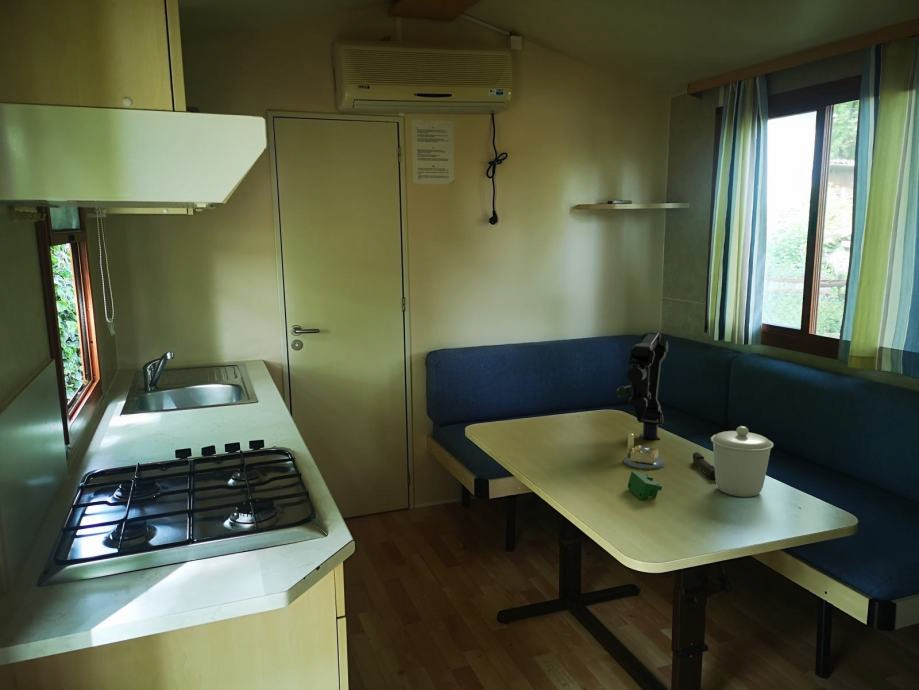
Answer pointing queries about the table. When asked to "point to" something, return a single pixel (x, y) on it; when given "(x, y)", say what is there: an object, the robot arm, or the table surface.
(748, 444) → the canister
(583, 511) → the table surface
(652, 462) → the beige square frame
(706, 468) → the dark brown log
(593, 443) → the table surface
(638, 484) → the green mounting bracket
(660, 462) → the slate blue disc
